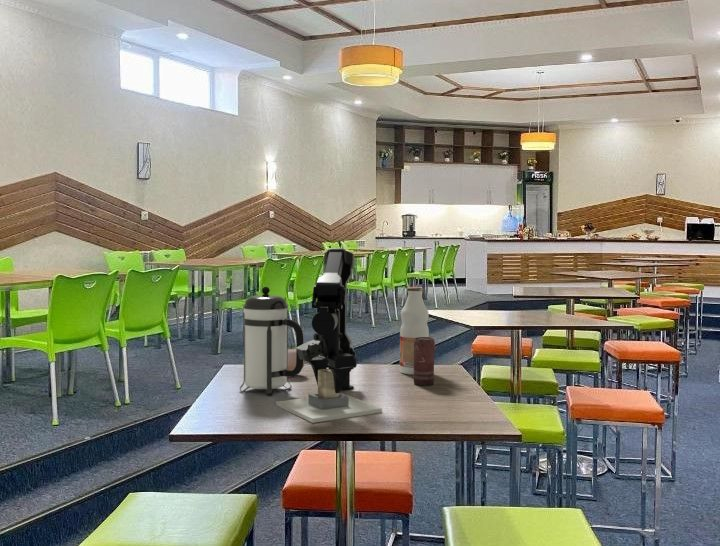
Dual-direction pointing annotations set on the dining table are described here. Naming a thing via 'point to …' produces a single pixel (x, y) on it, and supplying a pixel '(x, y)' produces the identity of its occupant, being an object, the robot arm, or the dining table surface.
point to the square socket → (328, 401)
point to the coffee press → (268, 342)
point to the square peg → (326, 384)
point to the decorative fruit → (292, 358)
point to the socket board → (319, 415)
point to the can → (424, 361)
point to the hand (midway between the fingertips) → (328, 389)
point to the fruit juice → (412, 328)
